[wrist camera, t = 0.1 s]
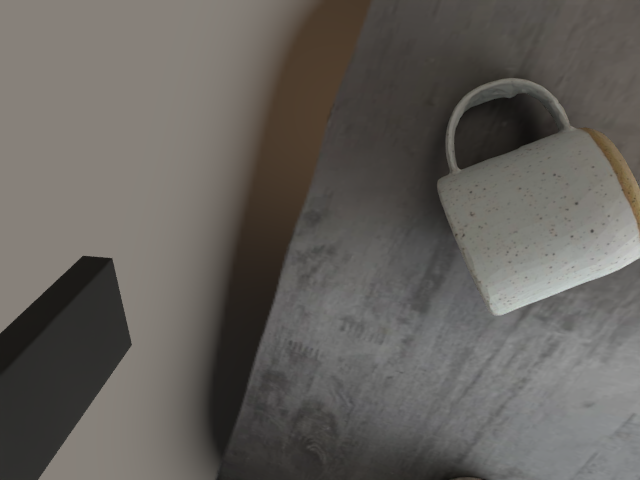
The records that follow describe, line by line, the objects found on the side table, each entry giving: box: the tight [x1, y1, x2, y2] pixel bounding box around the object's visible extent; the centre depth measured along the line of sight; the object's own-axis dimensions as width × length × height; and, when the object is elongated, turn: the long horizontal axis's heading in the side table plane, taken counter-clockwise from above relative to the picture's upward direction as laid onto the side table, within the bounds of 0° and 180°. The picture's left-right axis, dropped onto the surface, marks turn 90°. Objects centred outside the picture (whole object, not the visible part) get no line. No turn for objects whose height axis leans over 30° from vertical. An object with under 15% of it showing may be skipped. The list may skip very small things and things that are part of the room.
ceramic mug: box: [437, 78, 640, 315], centre depth 25 cm, size 11×8×8 cm
